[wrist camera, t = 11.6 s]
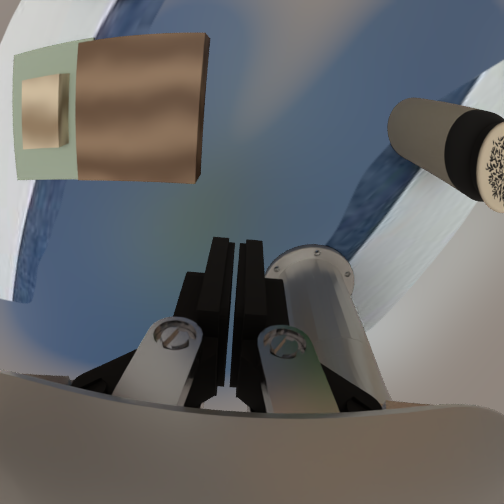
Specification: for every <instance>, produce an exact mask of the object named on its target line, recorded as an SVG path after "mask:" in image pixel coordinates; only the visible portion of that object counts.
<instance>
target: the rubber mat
mask: <svg viewBox="0 0 504 504" xmlns="http://www.w3.org/2000/svg"><path fill="white" fill-rule="evenodd" d="M93 40H95V38H88V39H82V40H77V41H71V42H66V43H61V44H57V45H52V46H48V47H44V48H40V49H36V50H32V51H28V52H25V53H21V54H18V55H14V65H13V134H14V149H15V160H16V170H17V178H18V180H40V179H78V171H77V154H76V125H75V98H76V69H77V54H78V43H80V42H86V41H93ZM67 73H70V78H69V112H68V123H69V143H68V144H66V145H64V146H61V147H58V148H38V149H23V140H22V80H27V79H32V78H37V77H43V76H48V75H54V74H67Z"/></svg>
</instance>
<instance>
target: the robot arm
mask: <svg viewBox="0 0 504 504" xmlns="http://www.w3.org/2000/svg"><path fill="white" fill-rule="evenodd" d="M234 249H235V243H232V242H229V238H221V237H213V240H212V244H211V249H210V253H209V257H208V262H207V266H206V271H205V273H198V272H187V273H186V276H185V280H184V282H183V286H182V289H181V292H180V296H179V299H178V302H177V305H176V309H175V312H174V315H173V317H167V318H164V319H161V320H159V321H157V322H155V323H154V324H153V325H152V326H151V327H150V328H149V330H148V332H147V334H146V335H145V337H144V339H143V340H142V342H141V344H140V346H139V347H138V349H136V350H134V351H132V352H129V353H127V354H125V355H123V356H121V357H118V358H116V359H114V360H112V361H110V362H108V363H105V364H103V365H101V366H99V367H97V368H94V369H92V370H90V371H88V372H86V373H83V374H82V375H80V376H78V377H77V378H76V379H75V380H70V378H69V376H51V375H33V374H20V373H16V372H12V371H6V370H1V369H0V504H504V415H503V414H502V413H500V412H498V411H495V410H493V409H490V408H486V407H481V406H476V405H465V404H439V405H430V404H418V403H407V402H396V401H392V399H391V397H390V395H389V393H388V390H387V388H386V386H385V383H384V381H383V378H382V376H381V373H380V371H379V368H378V365H377V363H376V360H375V357H374V355H373V353H372V350H371V347H370V344H369V341H368V339H367V336H366V334H365V331H364V328H363V326H362V323H361V321H360V318H359V316H358V313H357V311H356V308H355V306H354V303H353V301H352V298H351V295H352V292H353V288H354V275H353V271H352V268H351V266H350V264H349V263H348V261H347V260H346V258H345V257H344V256H343V255H342V254H341V253H339V252H338V251H336V250H334V249H333V248H330V247H327V246H324V245H316V244H311V245H302V246H298V247H294V248H292V249H290V250H287V251H286V252H284V253H282V254H281V255H279V256H278V257H277V258H276V259H275V260H274V261H273V262H272V263H271V265H270V266H269V267H268V269H267V271H266V273H265V275H264V259H263V243H262V241H258V240H246V244H244V243H240V249H239V262H238V274H237V286H236V300H235V312H234V326H233V327H234V328H233V342H232V357H231V358H232V359H231V374H230V387H236V397H238V398H239V399H240V400H242V401H243V402H244V403H245V404H246V405H248V406H247V412H236V411H222V410H210V409H203V408H204V402H205V401H206V400H208V399H210V398H211V397H213V396H216V395H217V386H223V387H224V381H225V368H226V354H227V342H228V329H229V318H230V305H231V291H232V276H233V263H234V262H233V261H234ZM316 250H318V251H316ZM276 266H278V267H276Z"/></svg>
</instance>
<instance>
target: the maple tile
mask: <svg viewBox="0 0 504 504" xmlns="http://www.w3.org/2000/svg"><path fill="white" fill-rule="evenodd" d="M69 78H70V73H67V74H54V75H48V76H43V77H37V78H32V79H27V80H22V140H23V149H38V148H58V147H61V146H64V145H66V144H68V143H69V123H68V112H69Z"/></svg>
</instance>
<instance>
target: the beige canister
mask: <svg viewBox="0 0 504 504" xmlns="http://www.w3.org/2000/svg"><path fill="white" fill-rule="evenodd" d="M388 137H389V140H390V143H391V145H392V147H393V148H394V150H395V151H396V152H397V153H398V154H399V155H400V156H402V157H404V158H405V159H407V160H409V161H411V162H413V163H414V164H416V165H418V166H420V167H421V168H423V169H425V170H426V171H428V172H430V173H431V174H433V175H435V176H436V177H438V178H440V179H441V180H443V181H445V182H446V183H448V184H449V185H451V186H452V187H454V188H456V189H457V190H459V191H460V192H462V193H463V194H465V195H466V196H468V197H469V198H471V199H473V200H475V201H482V202H485V203H486V205H487V206H488V207H489V208H490V209H492V210H494V211H496V212H499V213H504V119H503V118H502V117H501V116H499V115H497V114H495V113H492V112H488V111H484V110H480V109H475V108H471V107H466V106H461V105H456V104H451V103H445V102H440V101H434V100H428V99H421V98H408V99H405V100H403V101H401V102H400V103H398V104H397V105H396V106H395V107H394V109H393V110H392V112H391V114H390V117H389V120H388Z"/></svg>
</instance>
